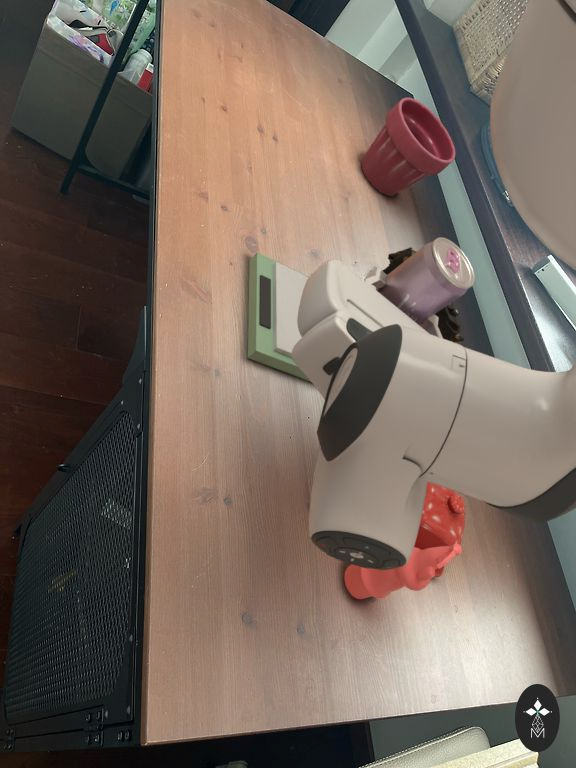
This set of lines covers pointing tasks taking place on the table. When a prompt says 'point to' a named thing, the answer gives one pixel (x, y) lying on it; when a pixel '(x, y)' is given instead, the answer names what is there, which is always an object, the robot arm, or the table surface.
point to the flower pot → (407, 148)
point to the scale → (274, 313)
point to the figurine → (399, 573)
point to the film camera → (446, 316)
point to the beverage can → (429, 280)
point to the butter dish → (441, 520)
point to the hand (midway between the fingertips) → (402, 295)
